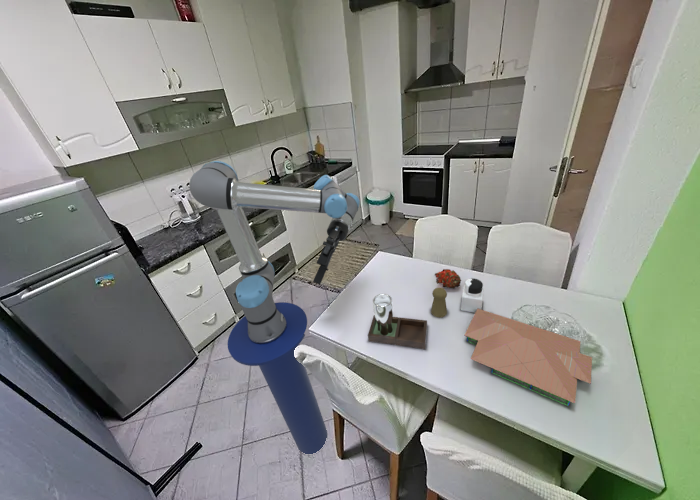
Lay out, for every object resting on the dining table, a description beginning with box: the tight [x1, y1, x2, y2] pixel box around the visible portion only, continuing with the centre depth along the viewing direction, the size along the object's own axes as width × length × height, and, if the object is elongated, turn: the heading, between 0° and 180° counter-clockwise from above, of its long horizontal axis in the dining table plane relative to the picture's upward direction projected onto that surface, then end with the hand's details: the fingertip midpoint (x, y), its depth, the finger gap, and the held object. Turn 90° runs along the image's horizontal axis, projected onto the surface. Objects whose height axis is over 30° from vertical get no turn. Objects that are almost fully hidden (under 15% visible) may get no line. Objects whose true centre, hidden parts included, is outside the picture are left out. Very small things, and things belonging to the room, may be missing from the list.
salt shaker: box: [430, 286, 448, 319], centre depth 105 cm, size 6×6×11 cm
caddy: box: [367, 314, 428, 350], centre depth 101 cm, size 20×10×3 cm, turn 73°
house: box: [464, 308, 593, 407], centre depth 85 cm, size 23×33×8 cm
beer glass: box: [372, 293, 394, 336], centre depth 99 cm, size 7×7×15 cm
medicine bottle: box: [460, 277, 485, 314], centre depth 105 cm, size 7×7×12 cm
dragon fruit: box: [434, 268, 462, 289], centre depth 119 cm, size 8×8×12 cm
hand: (318, 274), depth 91 cm, fingers open, 13 cm apart
